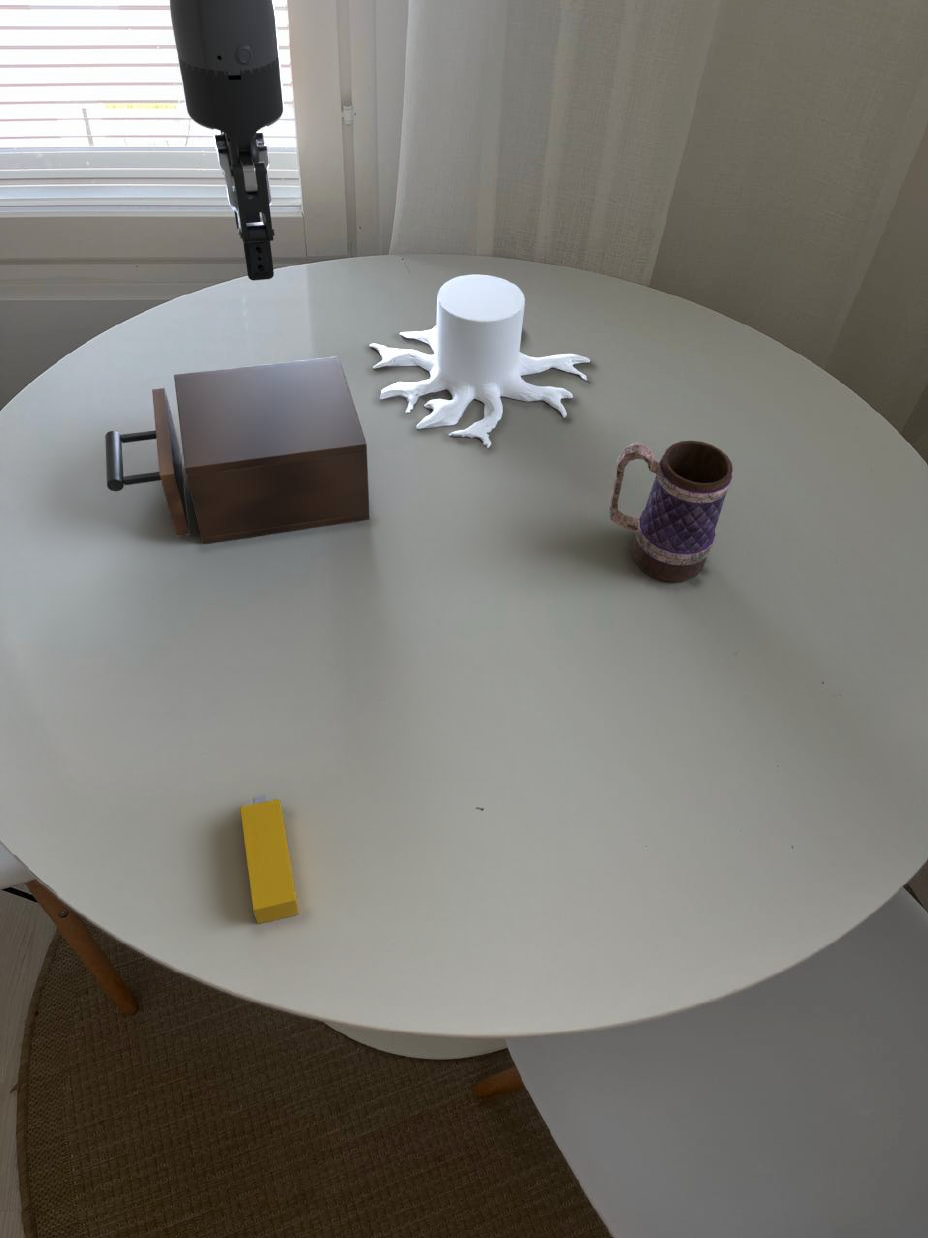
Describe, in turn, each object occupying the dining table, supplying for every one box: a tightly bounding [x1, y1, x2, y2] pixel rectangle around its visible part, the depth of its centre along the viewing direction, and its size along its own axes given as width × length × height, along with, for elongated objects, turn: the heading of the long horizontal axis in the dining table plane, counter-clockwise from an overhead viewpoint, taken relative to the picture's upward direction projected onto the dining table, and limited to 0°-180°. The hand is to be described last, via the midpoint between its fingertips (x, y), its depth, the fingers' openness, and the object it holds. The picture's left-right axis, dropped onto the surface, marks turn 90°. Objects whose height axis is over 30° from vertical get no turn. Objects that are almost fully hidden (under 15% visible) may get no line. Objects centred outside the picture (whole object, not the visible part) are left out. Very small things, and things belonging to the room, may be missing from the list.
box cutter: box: [239, 794, 300, 925], centre depth 64 cm, size 9×3×2 cm, turn 15°
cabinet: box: [173, 355, 371, 545], centre depth 86 cm, size 16×14×9 cm
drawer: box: [104, 387, 190, 537], centre depth 85 cm, size 19×12×7 cm, turn 105°
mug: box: [608, 440, 734, 582], centre depth 82 cm, size 10×7×12 cm
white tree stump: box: [369, 273, 591, 449], centre depth 100 cm, size 23×25×9 cm
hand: (255, 252), depth 80 cm, fingers open, 8 cm apart
